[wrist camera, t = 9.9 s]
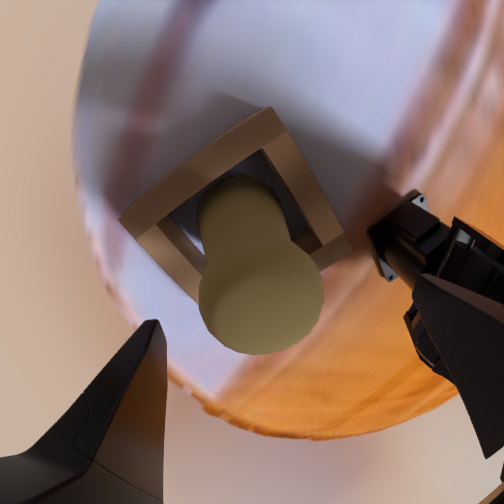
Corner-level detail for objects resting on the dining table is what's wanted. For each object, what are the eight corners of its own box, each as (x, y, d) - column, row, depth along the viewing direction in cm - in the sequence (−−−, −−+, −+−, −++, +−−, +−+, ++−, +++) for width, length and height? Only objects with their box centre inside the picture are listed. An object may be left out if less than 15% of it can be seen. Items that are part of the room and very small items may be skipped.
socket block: (336, 232, 21) (353, 250, 19) (222, 305, 23) (224, 329, 20) (261, 108, 16) (271, 106, 14) (130, 204, 18) (118, 219, 15)
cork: (291, 185, 19) (370, 265, 9) (269, 260, 22) (312, 375, 12) (205, 168, 18) (197, 237, 8) (191, 249, 20) (179, 369, 11)
